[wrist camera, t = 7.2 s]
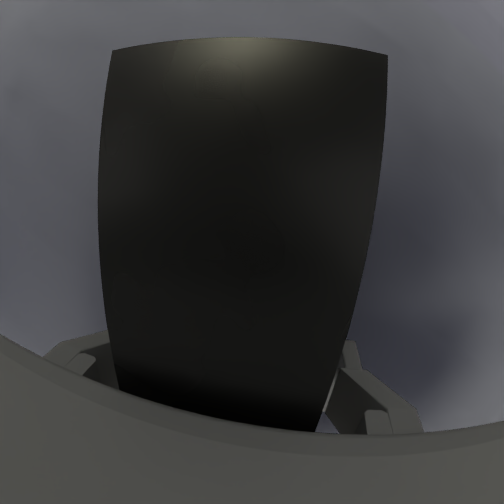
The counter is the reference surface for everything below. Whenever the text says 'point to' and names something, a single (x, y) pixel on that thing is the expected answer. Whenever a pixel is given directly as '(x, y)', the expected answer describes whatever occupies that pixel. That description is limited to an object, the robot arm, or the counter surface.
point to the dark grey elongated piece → (237, 220)
